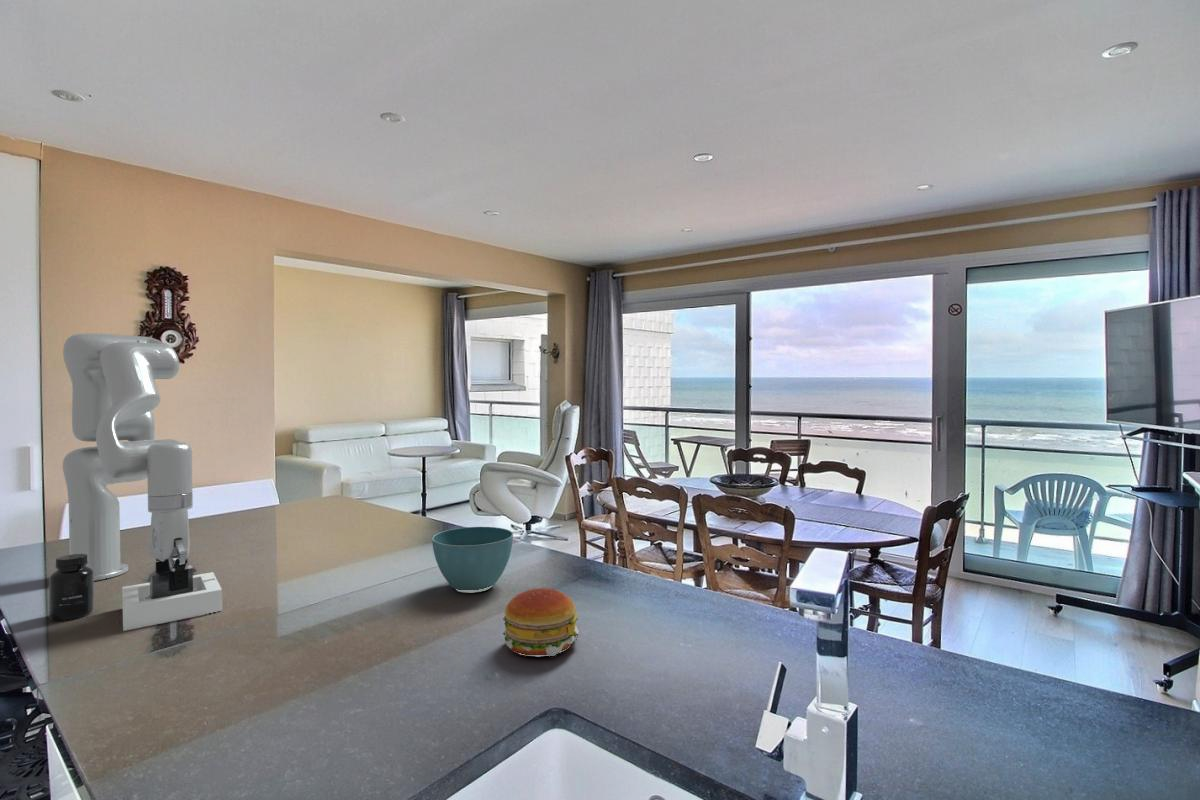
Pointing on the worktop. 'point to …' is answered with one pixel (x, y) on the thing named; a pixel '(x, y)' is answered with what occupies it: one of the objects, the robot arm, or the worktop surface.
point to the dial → (167, 585)
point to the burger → (540, 622)
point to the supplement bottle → (71, 588)
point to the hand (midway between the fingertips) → (171, 584)
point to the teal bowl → (472, 555)
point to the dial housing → (170, 603)
